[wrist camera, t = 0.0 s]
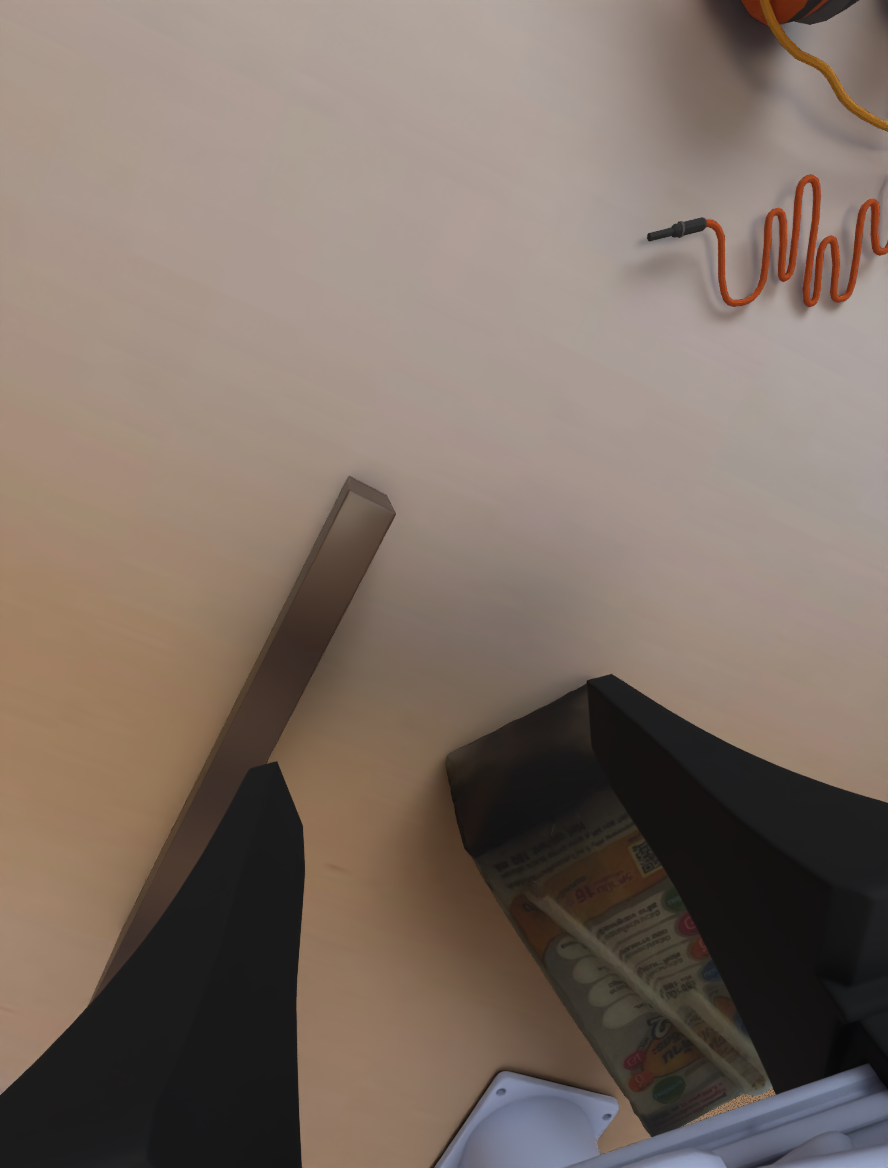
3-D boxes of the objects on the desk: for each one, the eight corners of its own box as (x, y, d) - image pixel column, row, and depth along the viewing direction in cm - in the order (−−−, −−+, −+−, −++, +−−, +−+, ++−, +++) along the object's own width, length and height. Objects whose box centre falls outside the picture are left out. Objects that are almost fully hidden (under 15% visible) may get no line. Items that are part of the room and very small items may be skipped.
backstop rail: (158, 940, 26) (120, 1042, 21) (120, 931, 25) (75, 1033, 21) (387, 495, 22) (396, 513, 18) (348, 475, 22) (349, 488, 17)
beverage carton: (596, 1020, 31) (657, 1171, 25) (430, 751, 25) (457, 861, 19) (726, 948, 31) (821, 1081, 25) (592, 663, 25) (671, 743, 19)
